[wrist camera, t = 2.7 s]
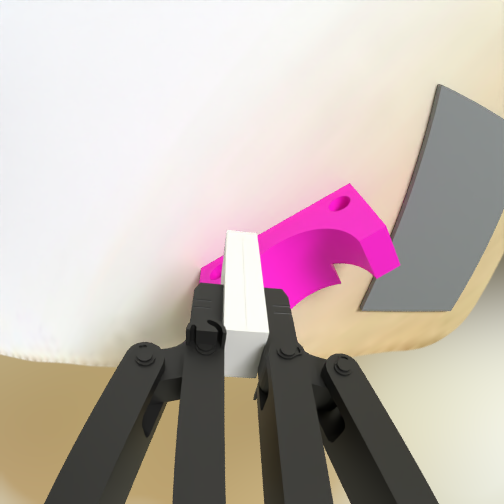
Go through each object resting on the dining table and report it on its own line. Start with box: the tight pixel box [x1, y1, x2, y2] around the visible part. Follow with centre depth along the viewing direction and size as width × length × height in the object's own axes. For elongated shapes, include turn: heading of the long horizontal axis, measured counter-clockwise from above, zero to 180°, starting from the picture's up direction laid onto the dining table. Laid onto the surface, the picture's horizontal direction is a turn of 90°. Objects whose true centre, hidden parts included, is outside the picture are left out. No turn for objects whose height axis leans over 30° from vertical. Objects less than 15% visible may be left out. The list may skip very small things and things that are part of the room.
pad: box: [360, 84, 504, 311], centre depth 27 cm, size 14×24×1 cm, turn 171°
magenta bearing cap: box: [199, 183, 400, 309], centre depth 25 cm, size 15×6×8 cm, turn 122°
